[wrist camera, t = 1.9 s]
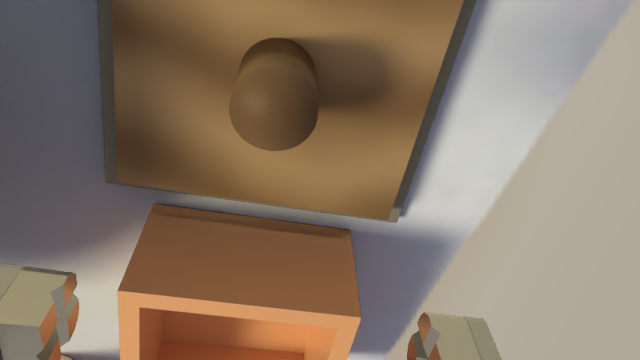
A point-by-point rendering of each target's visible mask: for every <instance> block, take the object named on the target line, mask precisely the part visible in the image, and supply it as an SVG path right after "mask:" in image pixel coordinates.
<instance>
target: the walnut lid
mask: <svg viewBox="0 0 640 360" xmlns="http://www.w3.org/2000/svg"><path fill="white" fill-rule="evenodd" d="M463 1H464V0H112V24H113V57H114V89H115V122H116V155H117V183H124V184H131V185H139V186H146V187H153V188H160V189H167V190H175V191H182V192H189V193H196V194H203V195H211V196H218V197H225V198H232V199H239V200H247V201H254V202H261V203H268V204H275V205H283V206H290V207H297V208H304V209H311V210H318V211H326V212H333V213H340V214H347V215H354V216H362V217H369V218H376V219H383V220H388V219H389V216H390V213H391V210H392V208H393V205H394V202H395V199H396V196H397V193H398V190H399V187H400V184H401V181H402V178H403V176H404V173H405V170H406V167H407V164H408V161H409V158H410V155H411V152H412V149H413V147H414V144H415V141H416V138H417V135H418V132H419V129H420V126H421V123H422V120H423V117H424V115H425V112H426V109H427V106H428V103H429V100H430V97H431V94H432V91H433V88H434V85H435V83H436V80H437V77H438V74H439V71H440V68H441V65H442V62H443V59H444V56H445V53H446V51H447V48H448V45H449V42H450V39H451V36H452V33H453V30H454V27H455V24H456V22H457V19H458V16H459V13H460V10H461V7H462V4H463Z"/></svg>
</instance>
